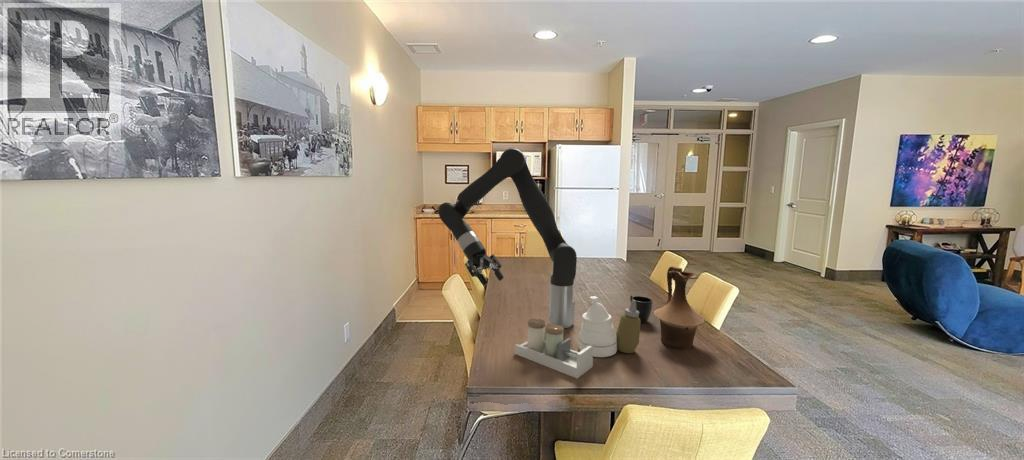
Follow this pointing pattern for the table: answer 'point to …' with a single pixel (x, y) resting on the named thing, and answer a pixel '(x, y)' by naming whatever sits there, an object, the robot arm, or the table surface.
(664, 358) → the table surface
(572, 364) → the jar lane
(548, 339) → the sage jar
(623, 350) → the squeeze bottle
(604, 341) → the honey pot
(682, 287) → the pitcher
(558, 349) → the pusher
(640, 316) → the mug
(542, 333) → the cream jar
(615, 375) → the table surface
